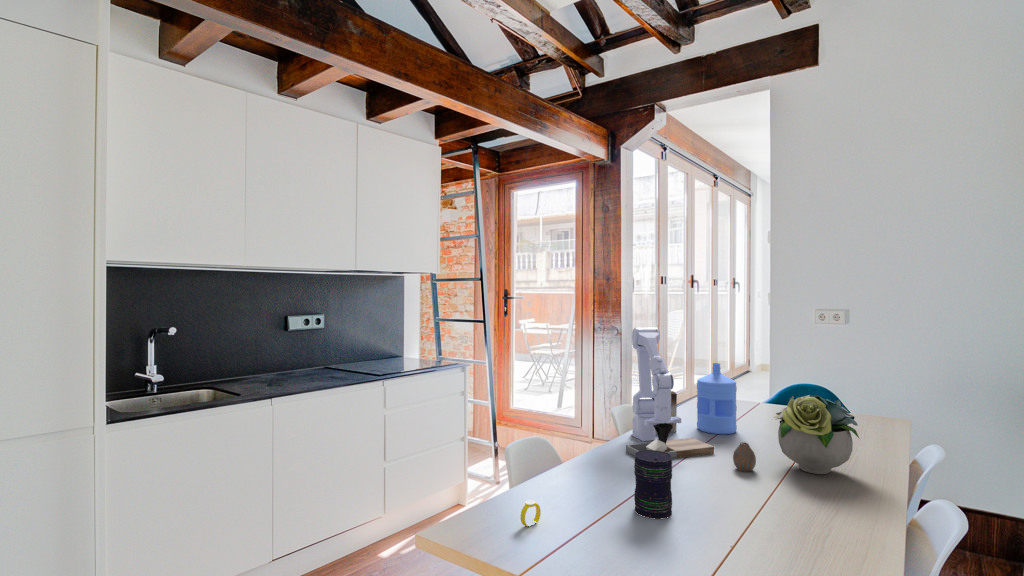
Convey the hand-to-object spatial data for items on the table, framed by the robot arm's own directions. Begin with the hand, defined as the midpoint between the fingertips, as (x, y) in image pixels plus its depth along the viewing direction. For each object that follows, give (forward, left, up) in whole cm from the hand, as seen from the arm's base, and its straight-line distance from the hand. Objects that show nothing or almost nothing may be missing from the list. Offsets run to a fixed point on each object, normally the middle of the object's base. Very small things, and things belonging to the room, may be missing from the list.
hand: (662, 444), depth 189 cm
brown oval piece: (+23, +15, -4) cm, 28 cm away
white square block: (+1, -3, -2) cm, 3 cm away
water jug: (-20, +40, -4) cm, 45 cm away
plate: (0, +9, -3) cm, 10 cm away
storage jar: (+41, -32, -4) cm, 52 cm away
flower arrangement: (+31, +36, -4) cm, 48 cm away
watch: (+38, -66, -4) cm, 76 cm away
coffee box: (-27, +19, -4) cm, 33 cm away
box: (0, -5, -3) cm, 6 cm away
